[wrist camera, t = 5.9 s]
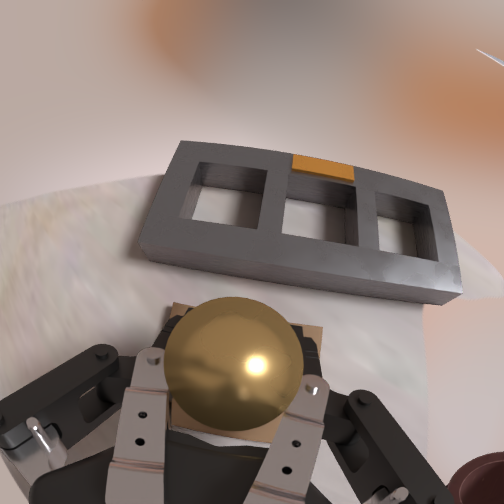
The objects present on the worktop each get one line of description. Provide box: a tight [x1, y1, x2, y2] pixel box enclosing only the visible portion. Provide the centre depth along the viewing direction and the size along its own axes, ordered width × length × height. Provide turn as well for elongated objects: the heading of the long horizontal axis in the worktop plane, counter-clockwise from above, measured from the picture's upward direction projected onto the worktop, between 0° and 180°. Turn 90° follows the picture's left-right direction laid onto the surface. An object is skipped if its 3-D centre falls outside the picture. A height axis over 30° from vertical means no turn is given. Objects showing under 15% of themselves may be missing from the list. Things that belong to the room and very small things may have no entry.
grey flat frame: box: [138, 141, 463, 306], centre depth 21 cm, size 24×10×3 cm, turn 81°
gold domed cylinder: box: [164, 297, 304, 431], centre depth 12 cm, size 4×4×10 cm
